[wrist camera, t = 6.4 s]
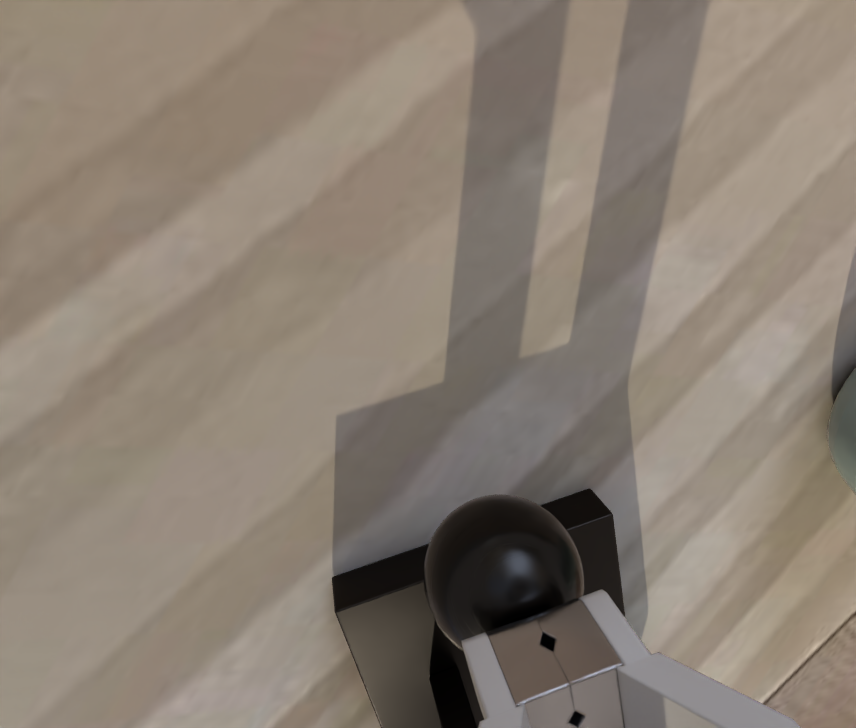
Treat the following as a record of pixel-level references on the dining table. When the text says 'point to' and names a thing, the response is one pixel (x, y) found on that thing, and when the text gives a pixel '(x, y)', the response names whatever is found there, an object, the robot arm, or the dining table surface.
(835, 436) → the cup
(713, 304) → the dining table surface
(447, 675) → the lever base
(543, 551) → the lever with ball knob
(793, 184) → the dining table surface
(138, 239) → the dining table surface
